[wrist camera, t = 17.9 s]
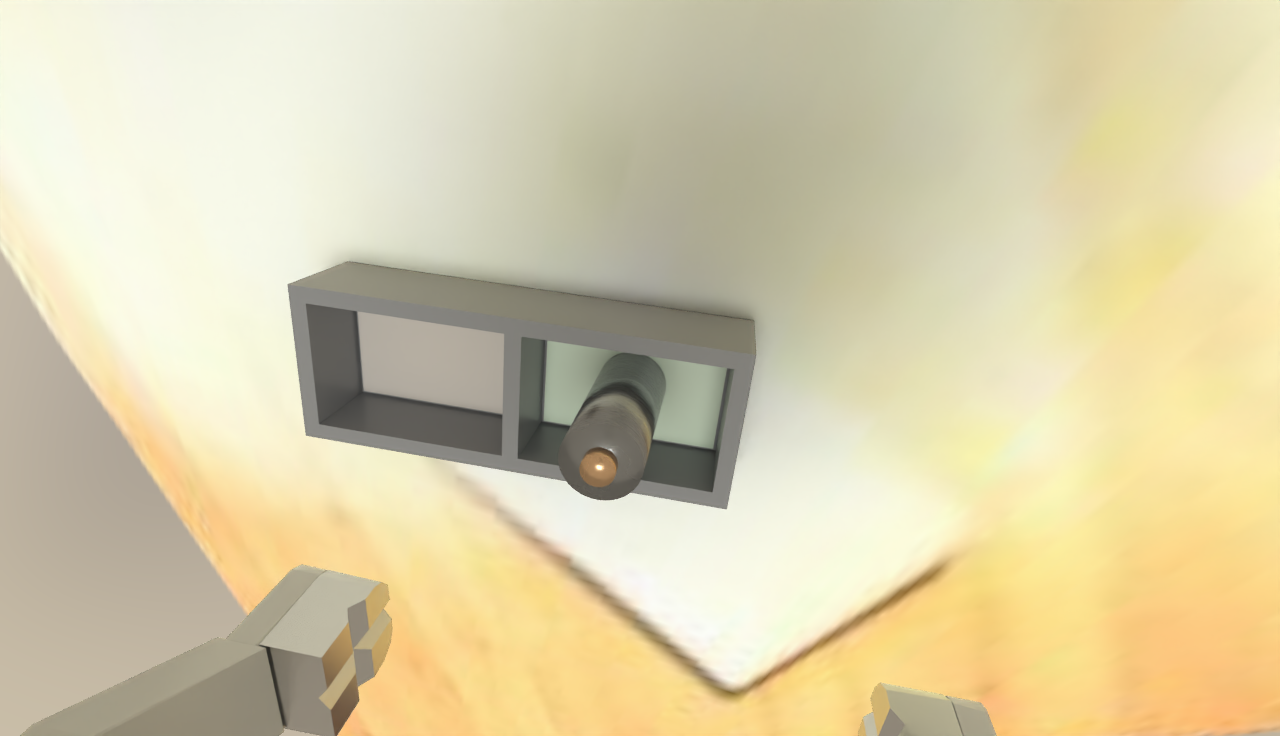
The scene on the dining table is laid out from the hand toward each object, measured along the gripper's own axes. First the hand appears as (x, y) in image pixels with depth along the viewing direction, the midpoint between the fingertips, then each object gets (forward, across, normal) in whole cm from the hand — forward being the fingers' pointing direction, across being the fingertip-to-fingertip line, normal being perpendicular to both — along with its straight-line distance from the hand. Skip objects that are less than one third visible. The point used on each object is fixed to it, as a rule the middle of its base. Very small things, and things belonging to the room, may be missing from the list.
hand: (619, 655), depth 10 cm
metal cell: (+29, +4, +10) cm, 30 cm away
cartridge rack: (+30, +10, +10) cm, 33 cm away
